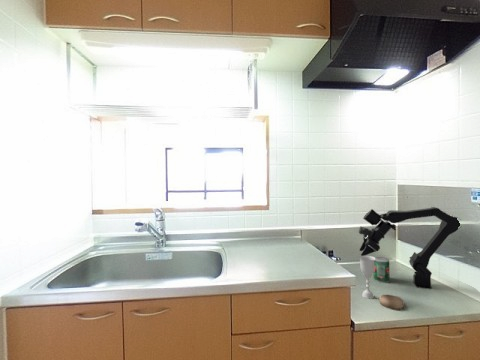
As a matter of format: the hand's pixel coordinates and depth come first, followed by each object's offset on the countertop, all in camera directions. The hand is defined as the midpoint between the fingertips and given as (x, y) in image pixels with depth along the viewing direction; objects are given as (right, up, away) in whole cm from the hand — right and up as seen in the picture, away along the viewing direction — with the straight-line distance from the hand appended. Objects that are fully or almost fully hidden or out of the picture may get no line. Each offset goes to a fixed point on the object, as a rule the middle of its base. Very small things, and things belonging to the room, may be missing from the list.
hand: (360, 253), depth 143 cm
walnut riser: (+1, -15, -26) cm, 31 cm away
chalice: (-5, -15, -18) cm, 24 cm away
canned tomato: (+11, -14, 0) cm, 18 cm away
